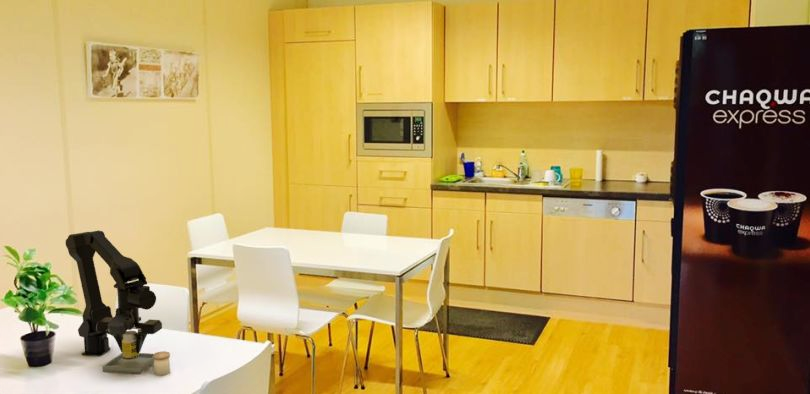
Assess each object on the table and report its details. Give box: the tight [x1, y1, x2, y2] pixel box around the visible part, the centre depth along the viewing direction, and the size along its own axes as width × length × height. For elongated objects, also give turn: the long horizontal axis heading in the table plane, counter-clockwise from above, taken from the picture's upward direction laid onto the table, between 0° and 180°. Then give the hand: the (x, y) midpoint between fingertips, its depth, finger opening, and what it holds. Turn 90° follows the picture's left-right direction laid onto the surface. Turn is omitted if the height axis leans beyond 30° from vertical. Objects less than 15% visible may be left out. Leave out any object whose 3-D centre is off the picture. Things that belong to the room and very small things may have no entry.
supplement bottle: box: [121, 330, 140, 361], centre depth 217 cm, size 5×5×8 cm
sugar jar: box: [152, 350, 171, 376], centre depth 212 cm, size 5×5×6 cm
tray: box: [102, 352, 154, 375], centre depth 218 cm, size 12×12×2 cm
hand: (130, 352), depth 217 cm, fingers closed on supplement bottle, 5 cm apart
